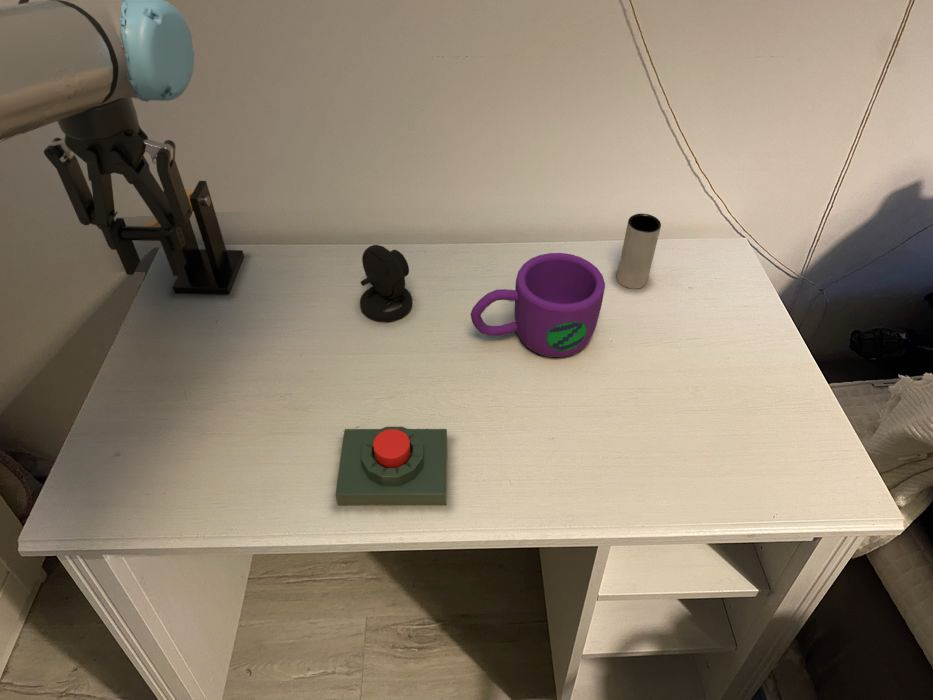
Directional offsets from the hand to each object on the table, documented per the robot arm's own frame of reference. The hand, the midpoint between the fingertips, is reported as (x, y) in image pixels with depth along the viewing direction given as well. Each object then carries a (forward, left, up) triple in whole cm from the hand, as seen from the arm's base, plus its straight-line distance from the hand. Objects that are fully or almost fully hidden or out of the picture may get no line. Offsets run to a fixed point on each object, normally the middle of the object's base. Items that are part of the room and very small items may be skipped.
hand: (156, 268), depth 88 cm
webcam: (+26, -10, -12) cm, 31 cm away
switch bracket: (+8, +11, -12) cm, 18 cm away
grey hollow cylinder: (+59, -26, -12) cm, 66 cm away
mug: (+39, -27, -12) cm, 49 cm away
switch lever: (+4, +5, +2) cm, 7 cm away
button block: (+12, -35, -12) cm, 39 cm away
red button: (+12, -35, -8) cm, 38 cm away
